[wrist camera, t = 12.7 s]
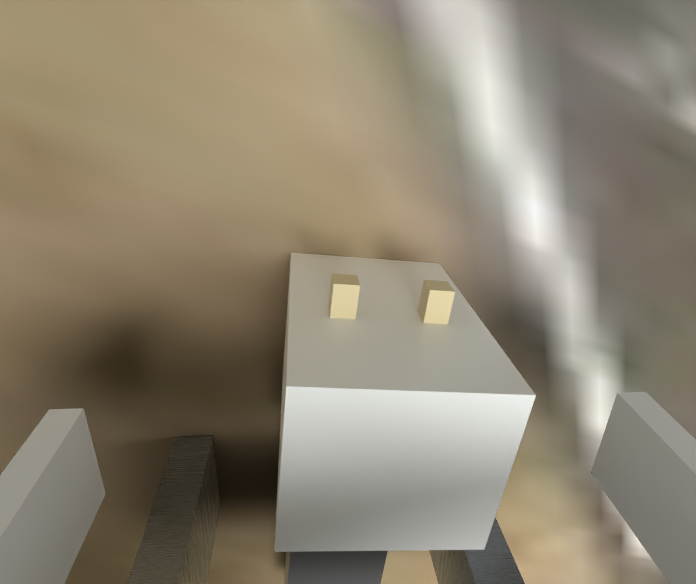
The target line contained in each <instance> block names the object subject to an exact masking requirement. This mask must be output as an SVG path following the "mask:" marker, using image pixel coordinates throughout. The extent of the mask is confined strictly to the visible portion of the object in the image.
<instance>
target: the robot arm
mask: <svg viewBox="0 0 696 584" xmlns="http://www.w3.org/2000/svg"><path fill="white" fill-rule="evenodd" d="M591 473H592V475H593V476H594V477H595V479H596V480H597V482H598V483H599V484H600V486H601V487H602V489H603V490H604V491H605V493H606V494H607V496H608V497H609V499H610V500H611V501H612V503H613V504H614V506H615V507H616V508H617V510H618V511H619V513H620V514H621V515H622V517H623V518H624V520H625V521H626V523H627V524H628V525H629V527H630V528H631V530H632V531H633V532H634V534H635V535H636V537H637V538H638V539H639V541H640V542H641V544H642V545H643V547H644V548H645V549H646V551H647V552H648V554H649V555H650V556H651V558H652V559H653V561H654V562H655V563H656V565H657V566H658V568H659V569H660V571H661V572H662V573H663V575H664V576H665V578H666V579H667V580H668V582H669V583H670V584H696V439H695V438H693V437H692V436H691V435H690V434H689V433H688V432H687V431H686V430H685V429H684V428H683V427H682V426H681V425H680V424H679V423H678V422H677V421H676V420H675V419H674V418H672V417H671V416H670V415H669V414H668V413H667V412H666V411H665V410H664V409H663V408H662V407H661V406H660V405H659V404H658V403H657V402H656V401H655V400H654V399H652V398H651V397H650V396H649V395H648V394H647V393H646V392H625V393H617V396H616V399H615V402H614V405H613V408H612V411H611V414H610V417H609V420H608V423H607V426H606V429H605V432H604V435H603V438H602V441H601V444H600V447H599V450H598V453H597V456H596V459H595V462H594V465H593V468H592V471H591ZM105 495H106V493H105V489H104V485H103V481H102V477H101V474H100V470H99V466H98V462H97V458H96V454H95V450H94V446H93V442H92V439H91V435H90V431H89V427H88V423H87V419H86V415H85V411H84V408H79V409H49V410H48V412H47V413H46V414H45V416H44V417H43V418H42V420H41V421H40V422H39V424H38V425H37V426H36V428H35V429H34V430H33V432H32V433H31V434H30V436H29V437H28V438H27V440H26V441H25V442H24V444H23V445H22V447H21V448H20V449H19V451H18V452H17V453H16V455H15V456H14V457H13V459H12V460H11V461H10V463H9V464H8V465H7V467H6V468H5V469H4V471H3V472H2V473H1V475H0V584H64V583H65V581H66V579H67V577H68V575H69V573H70V570H71V568H72V566H73V564H74V562H75V560H76V557H77V555H78V553H79V551H80V549H81V547H82V545H83V542H84V540H85V538H86V536H87V534H88V532H89V529H90V527H91V525H92V523H93V521H94V519H95V516H96V514H97V512H98V510H99V508H100V506H101V504H102V501H103V499H104V497H105Z"/></svg>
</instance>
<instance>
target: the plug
mask: <svg viewBox="0 0 696 584" xmlns="http://www.w3.org/2000/svg"><path fill="white" fill-rule="evenodd" d="M535 397H536V395H535V393H534V392H533V390H532V389H531V388H530V386H529V385H528V384H527V382H526V381H525V380H524V378H523V377H522V375H521V374H520V373H519V371H518V370H517V369H516V367H515V366H514V365H513V363H512V362H511V360H510V359H509V358H508V356H507V355H506V354H505V352H504V351H503V350H502V348H501V347H500V345H499V344H498V343H497V341H496V340H495V339H494V337H493V336H492V335H491V333H490V332H489V331H488V329H487V328H486V326H485V325H484V324H483V322H482V321H481V320H480V318H479V317H478V316H477V314H476V313H475V311H474V310H473V309H472V307H471V306H470V305H469V303H468V302H467V301H466V299H465V298H464V296H463V295H462V294H461V292H460V291H459V290H458V288H457V287H456V286H455V284H454V283H453V281H452V280H451V279H450V277H449V276H448V275H447V273H446V272H445V271H444V269H443V268H442V266H441V265H440V264H439V263H428V262H415V261H401V260H387V259H374V258H360V257H346V256H333V255H319V254H305V253H292V252H291V260H290V274H289V289H288V304H287V319H286V333H285V348H284V363H283V381H282V402H281V423H280V444H279V465H278V485H277V506H276V527H275V548H274V552H286V558H285V584H380V583H381V578H382V573H383V569H384V564H385V559H386V555H387V551H402V550H484V549H485V546H486V543H487V540H488V537H489V534H490V531H491V528H492V525H493V522H494V519H495V516H496V513H497V510H498V507H499V504H500V501H501V498H502V495H503V492H504V489H505V486H506V483H507V480H508V477H509V474H510V471H511V468H512V465H513V462H514V459H515V456H516V453H517V450H518V448H519V445H520V442H521V439H522V436H523V433H524V430H525V427H526V424H527V421H528V418H529V415H530V412H531V409H532V406H533V403H534V400H535Z"/></svg>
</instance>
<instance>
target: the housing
mask: <svg viewBox="0 0 696 584" xmlns="http://www.w3.org/2000/svg"><path fill="white" fill-rule="evenodd" d="M219 509H220V496H219V488H218V479H217V471H216V462H215V453H214V445H213V436H196V437H176V438H175V441H174V444H173V447H172V450H171V453H170V456H169V459H168V462H167V465H166V468H165V472H164V475H163V478H162V481H161V484H160V487H159V490H158V493H157V496H156V499H155V502H154V505H153V508H152V511H151V514H150V517H149V520H148V523H147V526H146V529H145V532H144V535H143V538H142V541H141V544H140V547H139V550H138V553H137V556H136V559H135V562H134V565H133V568H132V571H131V574H130V577H129V580H128V583H127V584H206V582H207V577H208V571H209V565H210V560H211V554H212V549H213V543H214V537H215V532H216V526H217V520H218V515H219ZM429 551H430V554H431V558H432V562H433V565H434V569H435V573H436V576H437V580H438V583H439V584H525V583H524V581H523V579H522V577H521V574H520V572H519V570H518V567H517V565H516V563H515V561H514V558H513V556H512V554H511V552H510V549H509V547H508V545H507V543H506V540H505V538H504V536H503V534H502V531H501V529H500V527H499V524H498V522H497V520H496V518H495V519H494V522H493V525H492V528H491V531H490V534H489V537H488V540H487V543H486V546H485V549H484V550H429Z"/></svg>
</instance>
